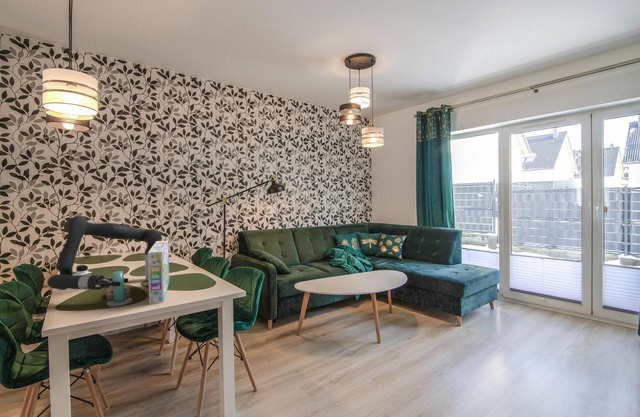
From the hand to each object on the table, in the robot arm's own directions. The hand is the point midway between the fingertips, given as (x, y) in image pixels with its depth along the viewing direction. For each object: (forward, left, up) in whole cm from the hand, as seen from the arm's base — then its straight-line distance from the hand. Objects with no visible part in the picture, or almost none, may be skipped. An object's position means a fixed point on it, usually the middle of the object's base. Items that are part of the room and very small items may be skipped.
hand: (124, 282), depth 165 cm
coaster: (+2, -1, -11) cm, 11 cm away
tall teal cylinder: (+2, -2, -10) cm, 10 cm away
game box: (-18, -9, -11) cm, 23 cm away
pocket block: (+2, -16, -11) cm, 20 cm away
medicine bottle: (+19, -56, -11) cm, 61 cm away
